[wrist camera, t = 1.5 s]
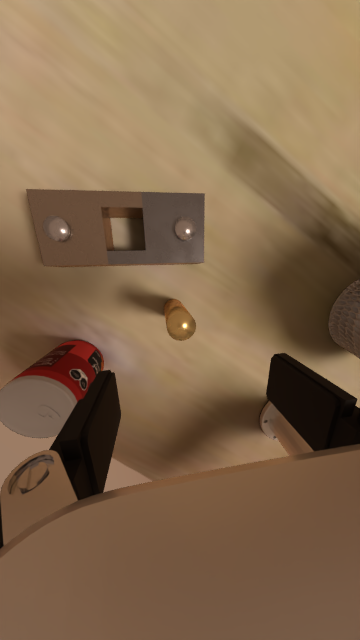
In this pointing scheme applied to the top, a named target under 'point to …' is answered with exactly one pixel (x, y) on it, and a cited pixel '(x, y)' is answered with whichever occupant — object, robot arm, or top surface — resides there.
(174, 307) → the pin
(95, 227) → the bolted slotted plate
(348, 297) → the vase
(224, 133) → the top surface
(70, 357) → the canned food
